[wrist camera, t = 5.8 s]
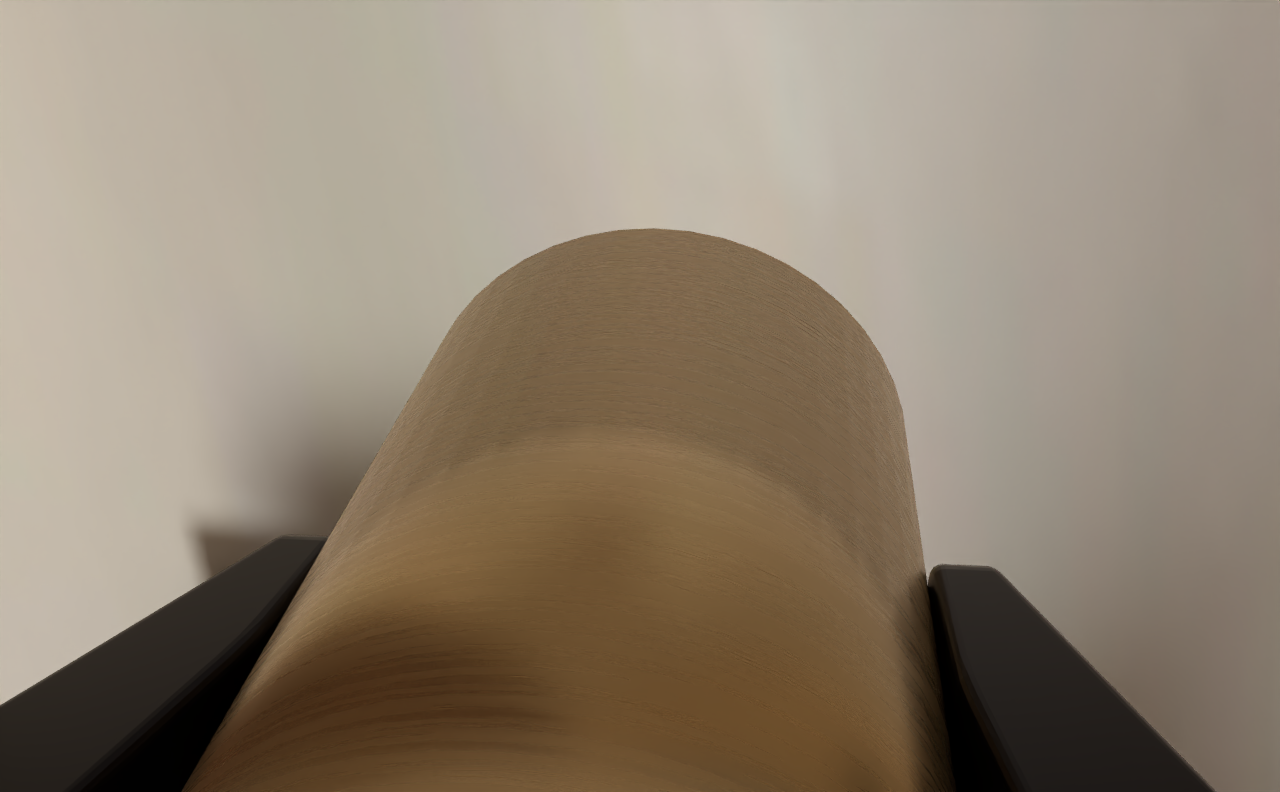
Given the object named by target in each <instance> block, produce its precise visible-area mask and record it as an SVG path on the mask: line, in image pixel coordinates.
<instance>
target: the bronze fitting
mask: <svg viewBox="0 0 1280 792" xmlns="http://www.w3.org/2000/svg"><path fill="white" fill-rule="evenodd" d="M181 792H957V790H956V783H955V776H954V769H953V762H952V755H951V748H950V741H949V734H948V727H947V720H946V713H945V706H944V699H943V692H942V685H941V678H940V671H939V664H938V657H937V649H936V642H935V635H934V628H933V621H932V614H931V607H930V600H929V593H928V586H927V579H926V572H925V565H924V558H923V551H922V544H921V537H920V530H919V523H918V515H917V508H916V501H915V494H914V487H913V480H912V473H911V466H910V459H909V452H908V445H907V438H906V431H905V424H904V417H903V410H902V407H901V404H900V400H899V397H898V394H897V391H896V387H895V384H894V381H893V379H892V377H891V375H890V373H889V371H888V369H887V367H886V365H885V362H884V360H883V358H882V356H881V354H880V353H879V351H878V350H877V348H876V347H875V345H874V344H873V342H872V341H871V339H870V338H869V336H868V335H867V333H866V332H865V330H864V329H863V328H862V327H861V325H860V324H859V323H858V322H857V321H856V320H855V319H854V318H853V317H852V315H851V314H850V313H849V312H848V311H847V310H846V309H845V308H844V307H843V305H842V304H841V303H839V302H838V301H837V300H836V299H835V298H833V297H832V296H831V295H830V294H829V293H828V292H826V291H825V290H824V289H823V288H822V287H821V286H819V285H818V284H817V283H816V282H814V281H813V280H811V279H809V278H808V277H806V276H805V275H803V274H802V273H800V272H799V271H797V270H796V269H794V268H792V267H791V266H789V265H788V264H786V263H784V262H782V261H780V260H778V259H775V258H773V257H771V256H769V255H767V254H765V253H763V252H761V251H759V250H757V249H754V248H751V247H748V246H745V245H742V244H739V243H736V242H733V241H730V240H727V239H724V238H720V237H715V236H710V235H705V234H700V233H695V232H690V231H680V230H667V229H654V228H653V229H631V230H617V231H611V232H605V233H599V234H594V235H588V236H584V237H580V238H577V239H574V240H571V241H568V242H564V243H561V244H558V245H555V246H552V247H550V248H548V249H546V250H544V251H542V252H539V253H537V254H535V255H533V256H531V257H529V258H526V259H524V260H523V261H521V262H520V263H518V264H517V265H515V266H514V267H512V268H510V269H509V270H507V271H506V272H504V273H503V274H501V275H500V276H498V277H497V278H496V279H495V280H494V281H492V282H491V283H490V284H489V285H488V286H487V287H486V288H484V289H483V290H482V291H481V292H480V293H479V294H478V295H476V296H475V297H474V299H473V300H472V301H471V302H470V303H469V305H468V306H467V307H466V308H465V309H464V310H463V312H462V313H461V314H460V315H459V316H458V317H457V319H456V320H455V322H454V324H453V325H452V327H451V328H450V330H449V332H448V333H447V335H446V336H445V338H444V340H443V341H442V343H441V345H440V346H439V348H438V350H437V352H436V353H435V355H434V357H433V358H432V360H431V362H430V364H429V365H428V367H427V369H426V371H425V372H424V374H423V376H422V377H421V379H420V381H419V383H418V384H417V386H416V388H415V390H414V391H413V393H412V395H411V396H410V398H409V400H408V402H407V403H406V405H405V407H404V408H403V410H402V412H401V414H400V415H399V417H398V419H397V421H396V422H395V424H394V426H393V427H392V429H391V431H390V433H389V434H388V436H387V438H386V440H385V441H384V443H383V445H382V446H381V448H380V450H379V452H378V453H377V455H376V457H375V458H374V460H373V462H372V464H371V465H370V467H369V469H368V471H367V472H366V474H365V476H364V477H363V479H362V481H361V483H360V484H359V486H358V488H357V490H356V491H355V493H354V495H353V496H352V498H351V500H350V502H349V503H348V505H347V507H346V508H345V510H344V512H343V514H342V515H341V517H340V519H339V521H338V522H337V524H336V526H335V527H334V529H333V531H332V533H331V534H330V536H329V538H328V540H327V541H326V543H325V545H324V546H323V548H322V550H321V552H320V553H319V555H318V557H317V558H316V560H315V562H314V564H313V565H312V567H311V569H310V571H309V572H308V574H307V576H306V577H305V579H304V581H303V583H302V584H301V586H300V588H299V590H298V591H297V593H296V595H295V596H294V598H293V600H292V602H291V603H290V605H289V607H288V608H287V610H286V612H285V614H284V615H283V617H282V619H281V621H280V622H279V624H278V626H277V627H276V629H275V631H274V633H273V634H272V636H271V638H270V640H269V641H268V643H267V645H266V646H265V648H264V650H263V652H262V653H261V655H260V657H259V658H258V660H257V662H256V664H255V665H254V667H253V669H252V671H251V672H250V674H249V676H248V677H247V679H246V681H245V683H244V684H243V686H242V688H241V690H240V691H239V693H238V695H237V696H236V698H235V700H234V702H233V703H232V705H231V707H230V708H229V710H228V712H227V714H226V715H225V717H224V719H223V721H222V722H221V724H220V726H219V727H218V729H217V731H216V733H215V734H214V736H213V738H212V740H211V741H210V743H209V745H208V746H207V748H206V750H205V752H204V753H203V755H202V757H201V758H200V760H199V762H198V764H197V765H196V767H195V769H194V771H193V772H192V774H191V776H190V777H189V779H188V781H187V783H186V784H185V786H184V788H183V790H182V791H181Z"/></svg>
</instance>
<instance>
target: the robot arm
mask: <svg viewBox="0 0 1280 792" xmlns="http://www.w3.org/2000/svg"><path fill="white" fill-rule="evenodd" d="M328 538H329V537H327V536H305V535H284V536H280V537H278V538H276V539H275V540H273V541H271V542H269V543H268V544H266V545H264V546H263V547H261V548H259V549H258V550H256V551H255V552H253V553H251V554H250V555H248V556H246V557H245V558H243V559H241V560H240V561H238V562H236V563H235V564H233V565H231V566H230V567H228V568H226V569H225V570H223V571H222V572H220V573H218V574H217V575H215V576H213V577H212V578H210V579H208V580H207V581H205V582H203V583H202V584H200V585H198V586H197V587H195V588H193V589H192V590H190V591H188V592H187V593H185V594H184V595H182V596H180V597H179V598H177V599H175V600H174V601H172V602H170V603H169V604H167V605H165V606H164V607H162V608H160V609H159V610H157V611H155V612H154V613H152V614H150V615H149V616H147V617H146V618H144V619H142V620H141V621H139V622H137V623H136V624H134V625H132V626H131V627H129V628H127V629H126V630H124V631H122V632H121V633H119V634H117V635H116V636H114V637H113V638H111V639H109V640H108V641H106V642H104V643H103V644H101V645H99V646H98V647H96V648H94V649H93V650H91V651H89V652H88V653H86V654H84V655H83V656H81V657H79V658H78V659H76V660H75V661H73V662H71V663H70V664H68V665H66V666H65V667H63V668H61V669H60V670H58V671H56V672H55V673H53V674H51V675H50V676H48V677H46V678H45V679H43V680H41V681H40V682H38V683H36V684H35V685H33V686H32V687H30V688H28V689H27V690H25V691H23V692H22V693H20V694H18V695H17V696H15V697H13V698H12V699H10V700H8V701H7V702H5V703H3V704H2V705H0V792H181V791H182V790H183V788H184V786H185V784H186V783H187V781H188V779H189V777H190V776H191V774H192V772H193V771H194V769H195V767H196V765H197V764H198V762H199V760H200V758H201V757H202V755H203V753H204V752H205V750H206V748H207V746H208V745H209V743H210V741H211V740H212V738H213V736H214V734H215V733H216V731H217V729H218V727H219V726H220V724H221V722H222V721H223V719H224V717H225V715H226V714H227V712H228V710H229V708H230V707H231V705H232V703H233V702H234V700H235V698H236V696H237V695H238V693H239V691H240V690H241V688H242V686H243V684H244V683H245V681H246V679H247V677H248V676H249V674H250V672H251V671H252V669H253V667H254V665H255V664H256V662H257V660H258V658H259V657H260V655H261V653H262V652H263V650H264V648H265V646H266V645H267V643H268V641H269V640H270V638H271V636H272V634H273V633H274V631H275V629H276V627H277V626H278V624H279V622H280V621H281V619H282V617H283V615H284V614H285V612H286V610H287V608H288V607H289V605H290V603H291V602H292V600H293V598H294V596H295V595H296V593H297V591H298V590H299V588H300V586H301V584H302V583H303V581H304V579H305V577H306V576H307V574H308V572H309V571H310V569H311V567H312V565H313V564H314V562H315V560H316V558H317V557H318V555H319V553H320V552H321V550H322V548H323V546H324V545H325V543H326V541H327V540H328ZM928 593H929V600H930V607H931V614H932V621H933V628H934V635H935V642H936V649H937V657H938V664H939V671H940V678H941V685H942V692H943V699H944V706H945V713H946V720H947V727H948V734H949V741H950V748H951V755H952V762H953V769H954V776H955V783H956V790H957V792H1216V791H1215V790H1214V789H1213V788H1212V787H1211V786H1210V785H1209V784H1208V783H1207V782H1206V781H1205V780H1204V779H1203V778H1202V777H1201V776H1200V775H1199V774H1198V773H1197V772H1196V771H1195V770H1194V769H1193V768H1192V767H1191V766H1190V765H1189V764H1188V763H1187V762H1186V761H1185V760H1184V759H1183V758H1182V757H1181V756H1180V755H1179V754H1178V753H1177V752H1176V751H1175V749H1174V748H1173V747H1172V746H1171V745H1170V744H1169V743H1168V742H1167V741H1166V740H1165V739H1164V738H1163V737H1162V736H1161V735H1160V734H1159V733H1158V732H1157V731H1156V730H1155V729H1154V728H1153V727H1152V726H1151V725H1150V724H1149V723H1148V722H1147V721H1146V720H1145V719H1144V718H1143V717H1142V716H1141V715H1140V714H1139V713H1138V712H1137V711H1136V710H1135V709H1134V708H1133V707H1132V706H1131V705H1130V704H1129V703H1128V702H1127V701H1126V700H1125V699H1124V698H1123V697H1122V696H1121V695H1120V694H1119V693H1118V692H1117V691H1116V690H1115V688H1114V687H1113V686H1112V685H1111V684H1110V683H1109V682H1108V681H1107V680H1106V679H1105V678H1104V677H1103V676H1102V675H1101V674H1100V673H1099V672H1098V671H1097V670H1096V669H1095V668H1094V667H1093V666H1092V665H1091V664H1090V663H1089V662H1088V661H1087V660H1086V659H1085V658H1084V657H1083V656H1082V655H1081V654H1080V653H1079V652H1078V651H1077V650H1076V649H1075V648H1074V647H1073V646H1072V645H1071V644H1070V643H1069V642H1068V641H1067V640H1066V639H1065V638H1064V637H1063V636H1062V635H1061V634H1060V633H1059V632H1058V631H1057V630H1056V629H1055V628H1054V626H1053V625H1052V624H1051V623H1050V622H1049V621H1048V620H1047V619H1046V618H1045V617H1044V616H1043V615H1042V614H1041V613H1040V612H1039V611H1038V610H1037V609H1036V608H1035V607H1034V606H1033V605H1032V604H1031V603H1030V602H1029V601H1028V600H1027V599H1026V598H1025V597H1024V596H1023V595H1022V594H1021V593H1020V592H1019V591H1018V590H1017V589H1016V588H1015V587H1014V586H1013V585H1012V584H1011V583H1010V582H1009V581H1008V580H1007V579H1006V578H1005V577H1004V576H1003V575H1002V574H1001V573H1000V572H999V571H998V570H996V569H994V568H992V567H989V566H972V565H948V564H940V565H937V566H935V567H934V568H933V569H932V571H931V573H930V575H929V580H928Z"/></svg>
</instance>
